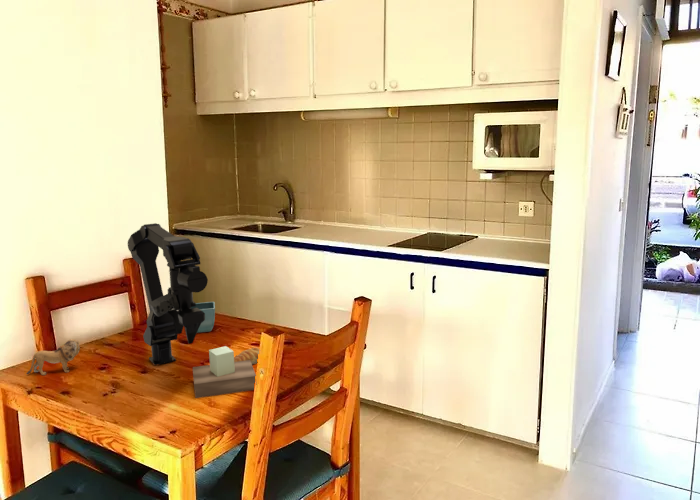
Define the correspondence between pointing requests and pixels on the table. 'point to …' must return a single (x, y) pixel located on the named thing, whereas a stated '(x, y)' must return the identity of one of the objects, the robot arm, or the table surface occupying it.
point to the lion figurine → (56, 356)
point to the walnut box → (223, 380)
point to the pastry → (248, 355)
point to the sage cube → (221, 361)
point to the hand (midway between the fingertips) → (184, 338)
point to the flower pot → (206, 316)
